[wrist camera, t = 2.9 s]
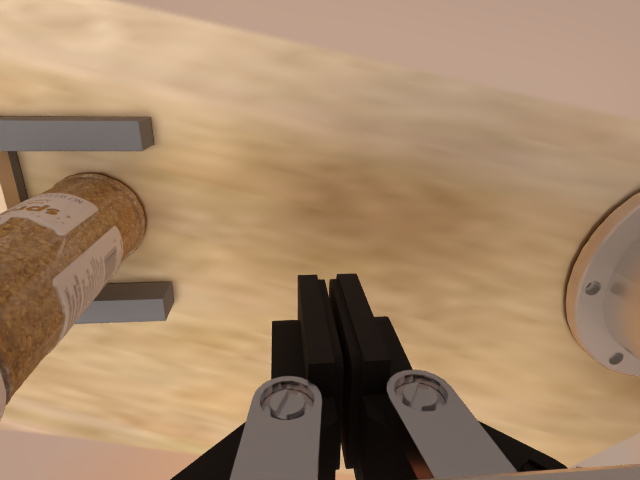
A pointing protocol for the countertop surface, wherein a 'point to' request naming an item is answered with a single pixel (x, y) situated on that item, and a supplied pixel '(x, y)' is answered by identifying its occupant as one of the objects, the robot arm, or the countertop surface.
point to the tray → (84, 135)
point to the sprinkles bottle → (58, 265)
